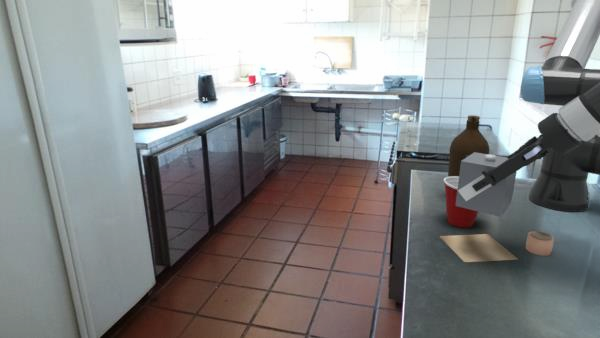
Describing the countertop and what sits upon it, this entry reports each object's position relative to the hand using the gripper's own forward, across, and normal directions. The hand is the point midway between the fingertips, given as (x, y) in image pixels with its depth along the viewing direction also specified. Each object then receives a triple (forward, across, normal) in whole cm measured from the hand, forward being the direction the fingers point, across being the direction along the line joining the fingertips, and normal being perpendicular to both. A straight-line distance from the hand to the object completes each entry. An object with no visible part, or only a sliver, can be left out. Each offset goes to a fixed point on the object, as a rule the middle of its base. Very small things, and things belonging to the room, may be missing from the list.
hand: (469, 189), depth 90 cm
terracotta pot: (0, +7, -20) cm, 21 cm away
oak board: (+8, 0, -12) cm, 15 cm away
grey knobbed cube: (0, 0, -4) cm, 4 cm away
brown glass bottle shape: (+17, +31, -3) cm, 36 cm away
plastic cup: (+13, +11, -8) cm, 19 cm away
